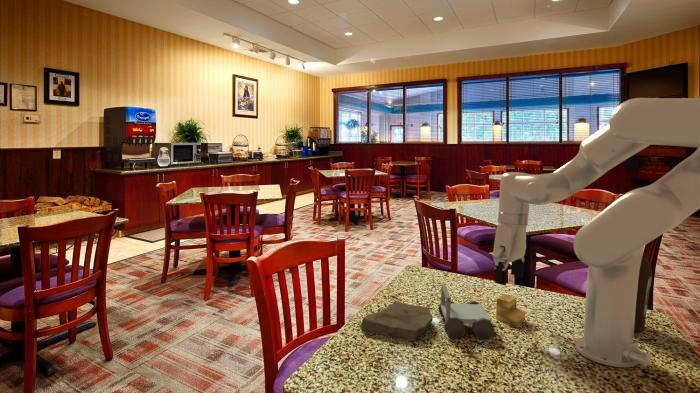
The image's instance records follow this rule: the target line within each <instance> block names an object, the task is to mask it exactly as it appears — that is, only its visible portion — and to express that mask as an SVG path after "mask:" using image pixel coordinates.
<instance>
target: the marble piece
mask: <svg viewBox="0 0 700 393" xmlns="http://www.w3.org/2000/svg"><path fill="white" fill-rule="evenodd" d="M430 312H431V311H430V308H428V307H427V306H421V305H414V304H410V303H405V302H402V301H401V302H400V301H393V302H392V303H390V304H389V305H387V307H385V308H383V309H382V310H380V311H377V312H373V313H370V314H367V315H365V316H363V317H362V320H361V323H360V329H361V331H363V332H367V333H371V334H376V335H379V336H380V335H381V336H386V337H389V338H390V337H391V338H395V339H399V340H404V341H408V342H414V341H415V339H417V338H418V337H421V336H422V335H423V333H424V332H426V331H428V330H429V327H430V325H431V323H432V322H433V319H434V318H433V315H432V313H430Z"/></svg>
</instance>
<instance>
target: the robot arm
mask: <svg viewBox="0 0 700 393" xmlns="http://www.w3.org/2000/svg"><path fill="white" fill-rule="evenodd" d="M650 145H659V146H672V147H673V146H675V147H685V148H686V147H689V148H697V149H696V150H695V151H694V152H693V153H691V155H689V156H688V157H686V158H685V159H684V160H682V161H681V162H679V163H678V164H677V165H675V166H674V167H673V168H672V169H670V171H668V172H667V173H665V174H664V175H663V176H661V178H659V179H657V180H656V181H655V182H652V183H650V185H646V186H643V187H638V188H635V189H632V190H630V191H628V192H625V193H624V194H622V195H621V196H620V197H618V198H617V199H616V200H614V201H613V202H612V203H610V204H609V205H608V206H607V207H605V208H604V209H603V210H602V211H600V212H599V213H598V214H596V215H595V216H594V217H592V218H591V219H590V220H588V222H586V223H585V224H584V225H583V226H581V227H580V228H579V229H578V231H577V232H576V234H575V236H574V239H573V242H572V243H573V244H572V245H573V251H574V253H575V254H574V255H576V257H577V258H578V260H580V261H581V262H582V263H583V264H585V265H587V266H588V269H587V278H586V280H587V281H586V292H585V293H586V294H585V305H584V322H583V323H584V324H583V335H582V336H581V337H579V338H577V339H576V340H575V345H574V346H575V349H576V351H577V353H579V354H580V355H582V356H583V357H585V358H586V359H588V360H590V361H592V362H596V363H598V364H601V365H604V366H608V367H614V368H631V367H635V366H638V365H641V366H643V367H645V368H646V367H648V366H649V365H650V362H651V361H650V360H651V354H650V353H647V352H645V351H643V350H641V349H640V348H639V341H638V340H635V339H634V335H635V333H634V323H635V310H636V298H637V289H638V278H639V270H640V265H641V260H642V255H643V256H644V250H645V246H646V245H647V244H649V243H650V242H653V241H654V240H655V239H657V238H659V236H661V235H663V234H665V233H666V232H669V231H671V230H673V229H675V228H676V227H678V226H679V225H681V223H682V222H684V221H685V220H686V219H687V218H688V217H689V216H691V215H693V214H694V213H695V212H697V211H699V210H700V97H688V98H687V97H681V98H679V97H677V98H676V97H674V98H673V97H672V98H671V97H670V98H666V97H665V98H664V97H663V98H661V97H660V98H659V97H654V98H653V97H636V98H635V97H634V98H630V99H627V100H625V101H623V102H621V103H620V104H619V105H617V106H616V107H615V109H613V111H612V113H611V114H610V117H609V121H608V123H606V124H604V126H602V127H601V128H599V129H598V130H596V131H595V132H593V133H592V134H590V135H589V136H588V137H586V138H584V139H583V140H582V141H581V143H580V144H579V151H578V152H577V154H576V155H575V157H573V159H571V160H570V161H568V162H567V163H566V164H564V165H563V166H561V167H560V168H558V169H556V170H555V171H553V172H550V173H541V174H540V173H539V174H531V175H530V174H528V173H525V172H519V171H518V172H516V171H515V172H514V171H509V172H504V173H503V174H502V175H501V177H500V183H499V198H498V212H497V213H498V214H497V216H498V217H497V226H496V227H497V228H496V230H495V236H494V242H493V251H492V259H493V268H494V277H493V278H494V279H493V282H494V284H497V285H501V286H506V285H507V281H508V270H507V268H508V266H509V263H511V265H510V266H511V267H510V274H511V275H512V276H516V277H519V278H522V277H523V276H524V262H525V256H526V250H527V245H528V244H527V227H528V226H529V213H530V204H531V205H535V206H544V205H549V204H551V203H558V202H561V201H563V200H566V199H568V198H569V197H572V196H573V195H575V194H576V193H578V192H580V191H581V190H583V189H585V188H586V187H588V186H589V185H591V184H592V183H594V182H595V181H596V180H598V179H599V178H601V177H602V176H604V175H605V174H606V173H607V172H608V171H610V170H612V169H613V168H615V167H616V166H618V165H619V164H621V163H623V162H624V161H626V160H627V159H629V158H630V157H632V156H635V154H638V153H639V152H641V151H642V150H644V149H645V148H647V147H649V146H650Z"/></svg>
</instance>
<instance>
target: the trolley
mask: <svg viewBox="0 0 700 393" xmlns="http://www.w3.org/2000/svg"><path fill="white" fill-rule="evenodd" d="M451 298H452V297H451V295H450V293H449V290H448V288H447V286H446V284H445V283H441V285H440V304H438V313H439V315H440V317H442V319H444V320H445V322H444V324H443V328H444V331H445V334H446V336H448V337H449V338H451V339H459V338H461V337H463V335H464V334H465V332H466V325H465V324H470V325H471V324H472V331H473V333H474V336H476V337H477V338H478V339H481V340H487V339H490V338H491V337H492V336H494V333H495V327H494V325H493V323H492V319H491V317H490V316H489V314H488V312H487V311H486V309H485V308H484V306H483V304H482V303H480V302H478V301H476V300H470V301H467V303H454V302H453V301H452V299H451Z"/></svg>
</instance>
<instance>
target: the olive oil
mask: <svg viewBox="0 0 700 393" xmlns="http://www.w3.org/2000/svg"><path fill="white" fill-rule="evenodd" d="M652 270H653V269H652V266H651V263H650V261H649V260H648V259H647V258H646V256H644V254H643V255H642V260H641V265H640V270H639V278H638V289H637V298H636V310H635V323H634V334H637V333H639V334H640V333H642V332H643V331H645V327H646V326H645V325H646V317H647V313H648V312H647V310H648V302H649V297H650V289H651V283H652V276H653V271H652Z"/></svg>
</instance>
